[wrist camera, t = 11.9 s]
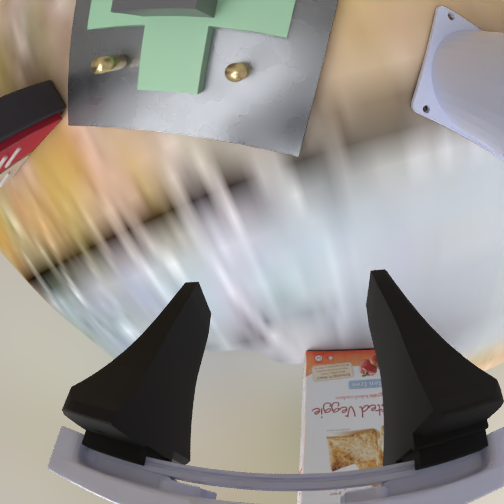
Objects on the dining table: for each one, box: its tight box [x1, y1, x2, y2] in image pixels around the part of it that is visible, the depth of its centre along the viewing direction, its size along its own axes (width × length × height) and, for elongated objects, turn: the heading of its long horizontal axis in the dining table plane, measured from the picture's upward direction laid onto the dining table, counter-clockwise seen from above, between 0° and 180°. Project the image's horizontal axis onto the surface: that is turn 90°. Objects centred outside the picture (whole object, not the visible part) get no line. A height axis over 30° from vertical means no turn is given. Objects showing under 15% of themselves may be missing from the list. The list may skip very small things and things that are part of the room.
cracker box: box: [297, 349, 384, 504], centre depth 23 cm, size 14×6×21 cm, turn 95°
